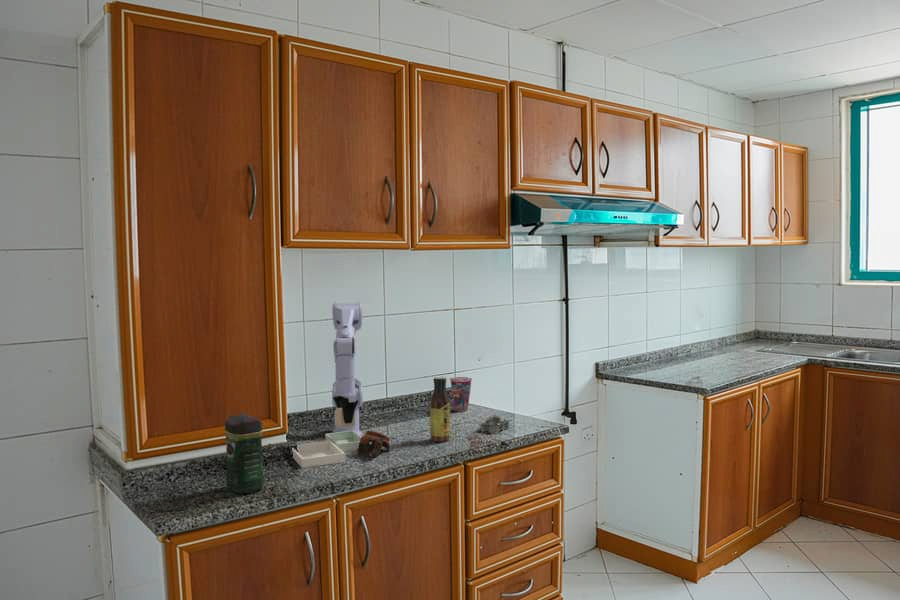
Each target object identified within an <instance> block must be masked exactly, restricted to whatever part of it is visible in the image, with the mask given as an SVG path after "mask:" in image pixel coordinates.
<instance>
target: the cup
mask: <svg viewBox="0 0 900 600" xmlns="http://www.w3.org/2000/svg"><path fill="white" fill-rule="evenodd" d="M472 380H473V379H472V378H471V377H466V376H458V377H451V378H449V381H450V387H451V388H450V389H451V395H452V402H453V403H452V404H453V408H454V409H453V410H454V412H458V413H461V412H463V413H465V412H467V411H468V410H469V406H470V405H469V404H470V395H471V386H472Z"/></svg>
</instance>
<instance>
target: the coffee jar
mask: <svg viewBox="0 0 900 600" xmlns="http://www.w3.org/2000/svg"><path fill="white" fill-rule="evenodd" d="M224 424H225V426H224V433H225V443H226V444H225V445H226V448H225V449H226V462H225V463H226V464H225V465H226V470H225V471H226V473H225V474H226V475H225V477H226V478H225V479H226V483H225V485H226V488H227V489H228V490H229V491H231V492H233V493H235V494H239V495H240V494H253V493H256V492H258V491H260V490H261V489H263V487H264V470H263V450H262V449H263V447H262V446H263V445H262V443H263V442H262V438H263V424H262V420H260V419H258V418H256V417H253V416H250V415H247V414H245V413H242V414H241V413H239V414H235V415H229V417H228V418H227V419H226V420H225V423H224Z"/></svg>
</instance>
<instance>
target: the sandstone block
mask: <svg viewBox="0 0 900 600" xmlns="http://www.w3.org/2000/svg"><path fill="white" fill-rule="evenodd" d="M335 410H336V416H337V425H338V426H340V427H348V426H355V411H354V415H353V420H352V423H345V422H344V418H343V411H342V408H336V407H335Z"/></svg>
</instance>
